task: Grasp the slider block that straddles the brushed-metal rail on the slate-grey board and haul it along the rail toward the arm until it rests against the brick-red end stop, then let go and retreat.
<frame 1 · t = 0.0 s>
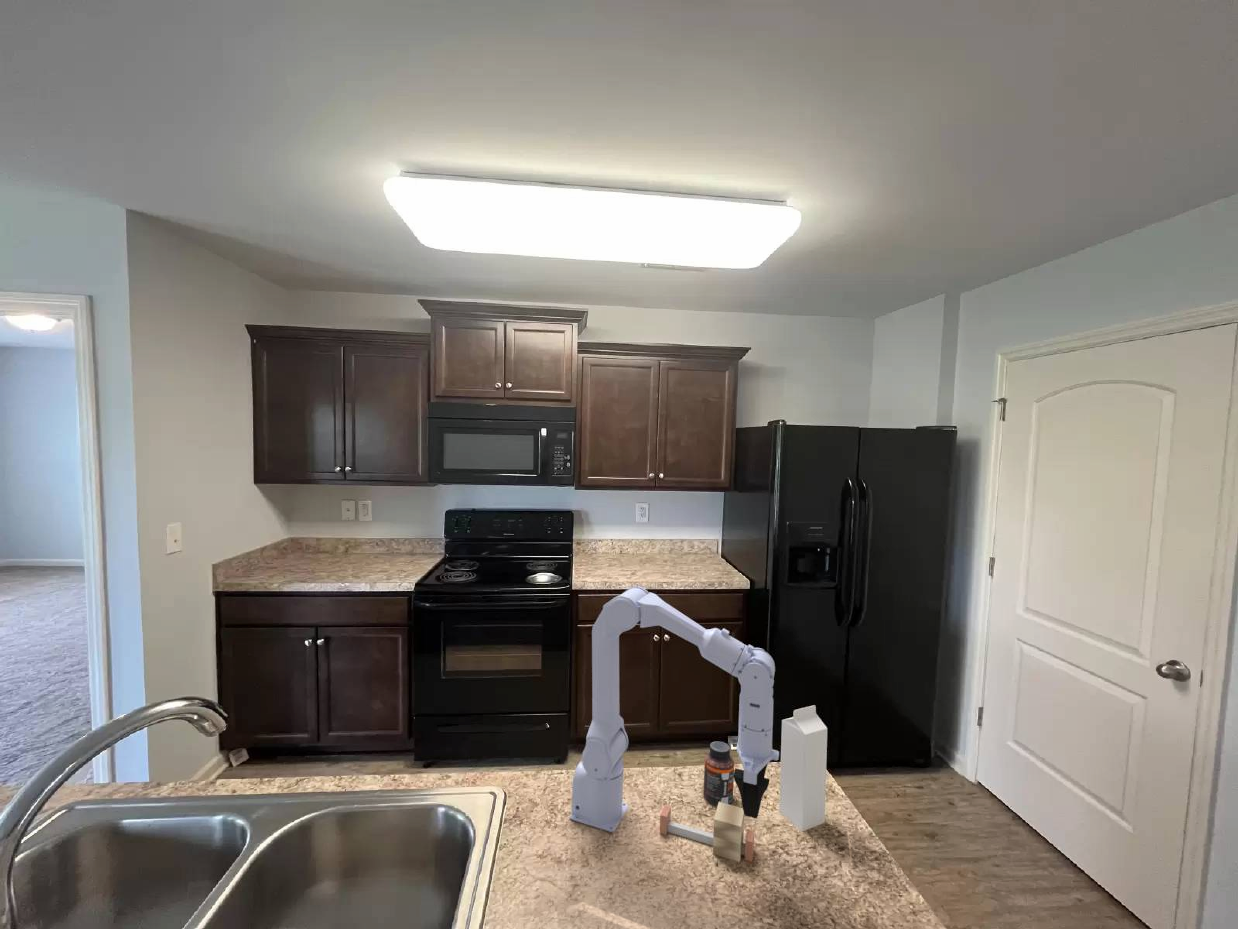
hand: (753, 801, 86), 10 cm above the countertop, fingers open, 7 cm apart
slider block: (728, 831, 87), point 4 cm above the countertop, slide at 0.0 cm
rail board: (705, 846, 88), on the countertop
supplement bottle: (718, 803, 100), on the countertop
milk: (801, 822, 96), on the countertop
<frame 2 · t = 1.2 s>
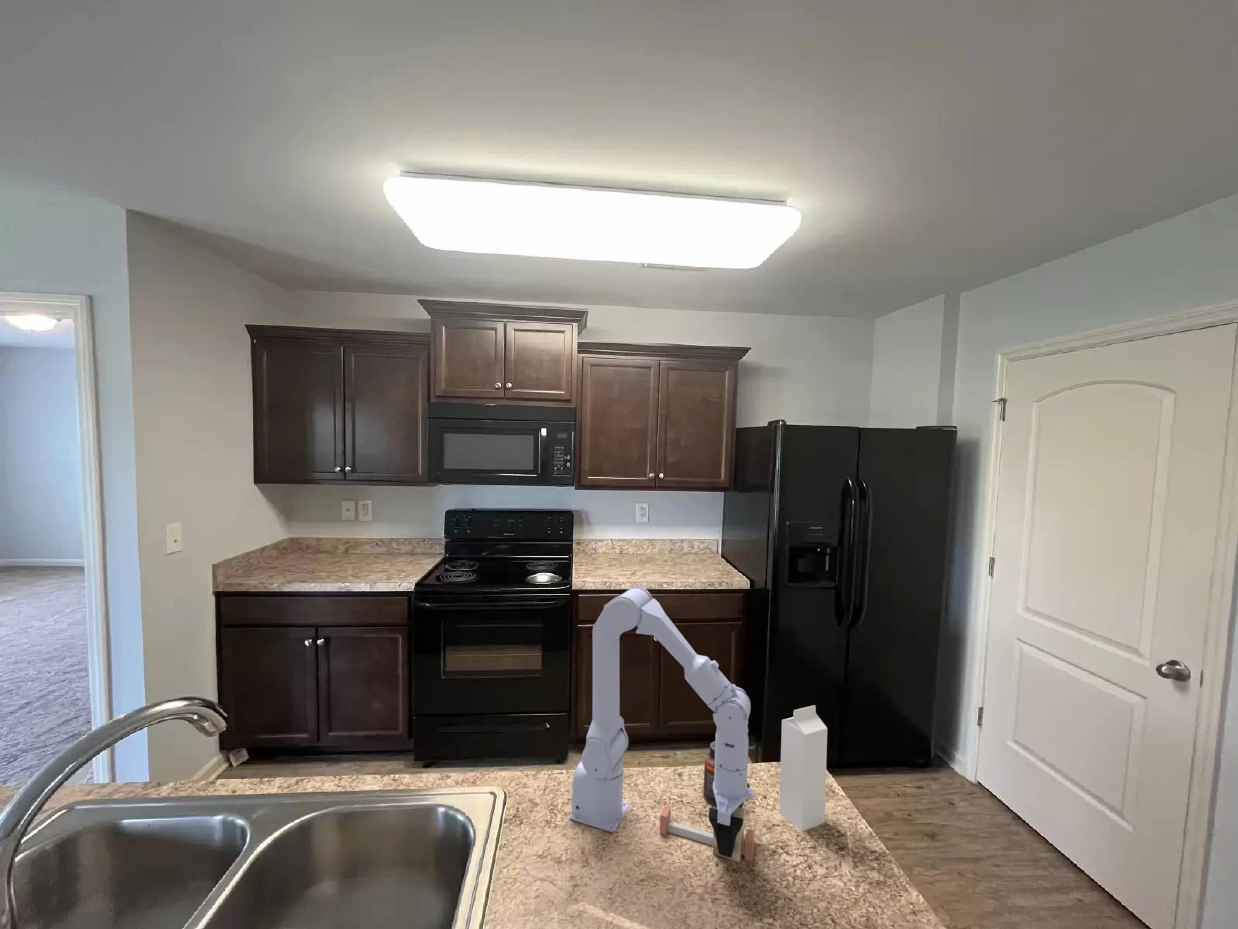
hand: (728, 839, 87), 2 cm above the countertop, fingers open, 7 cm apart
nothing on the countertop moved.
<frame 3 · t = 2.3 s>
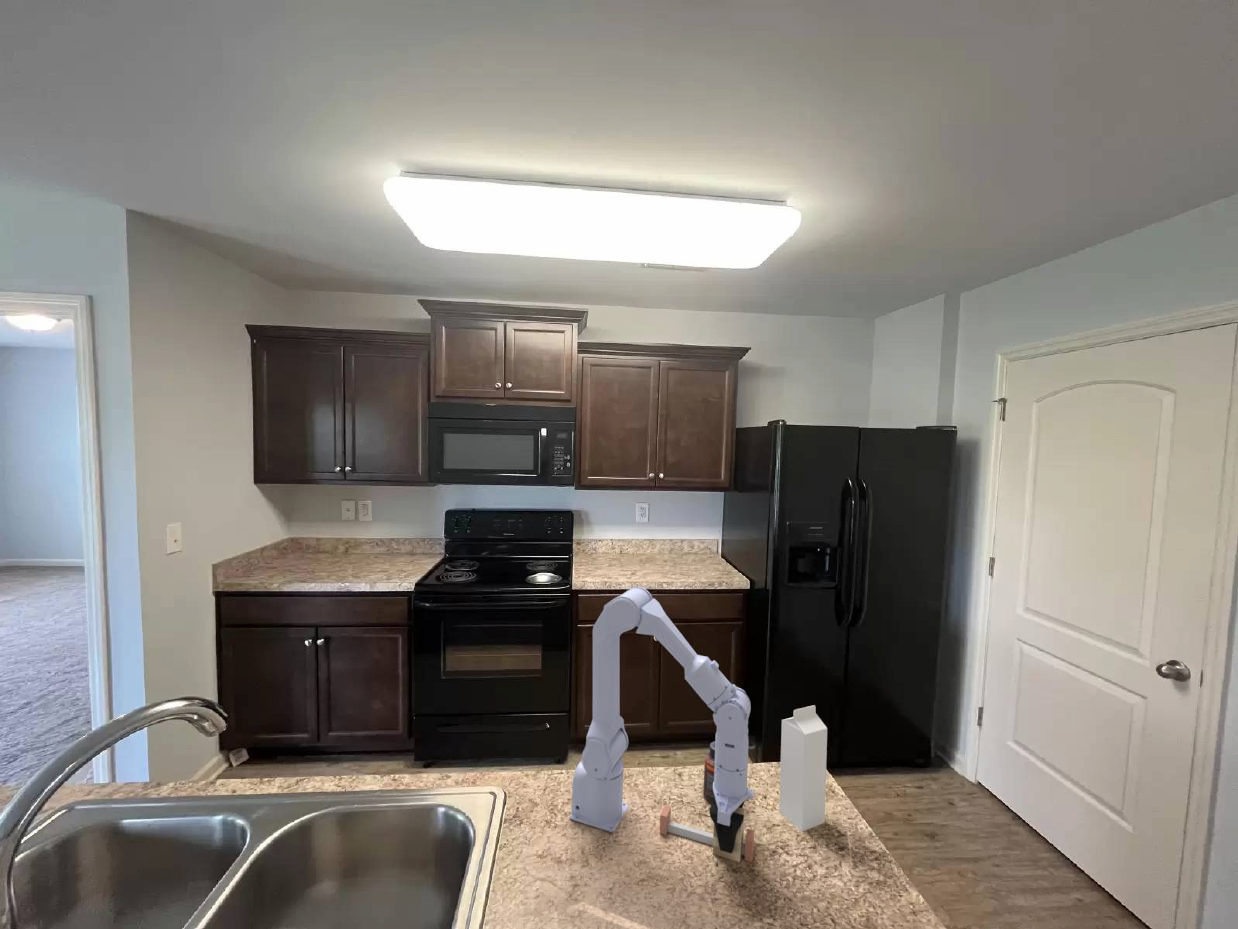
hand: (728, 839, 87), 2 cm above the countertop, fingers closed on slider block, 5 cm apart
slider block: (728, 831, 87), point 4 cm above the countertop, slide at 0.0 cm, touching gripper
everything else where it was.
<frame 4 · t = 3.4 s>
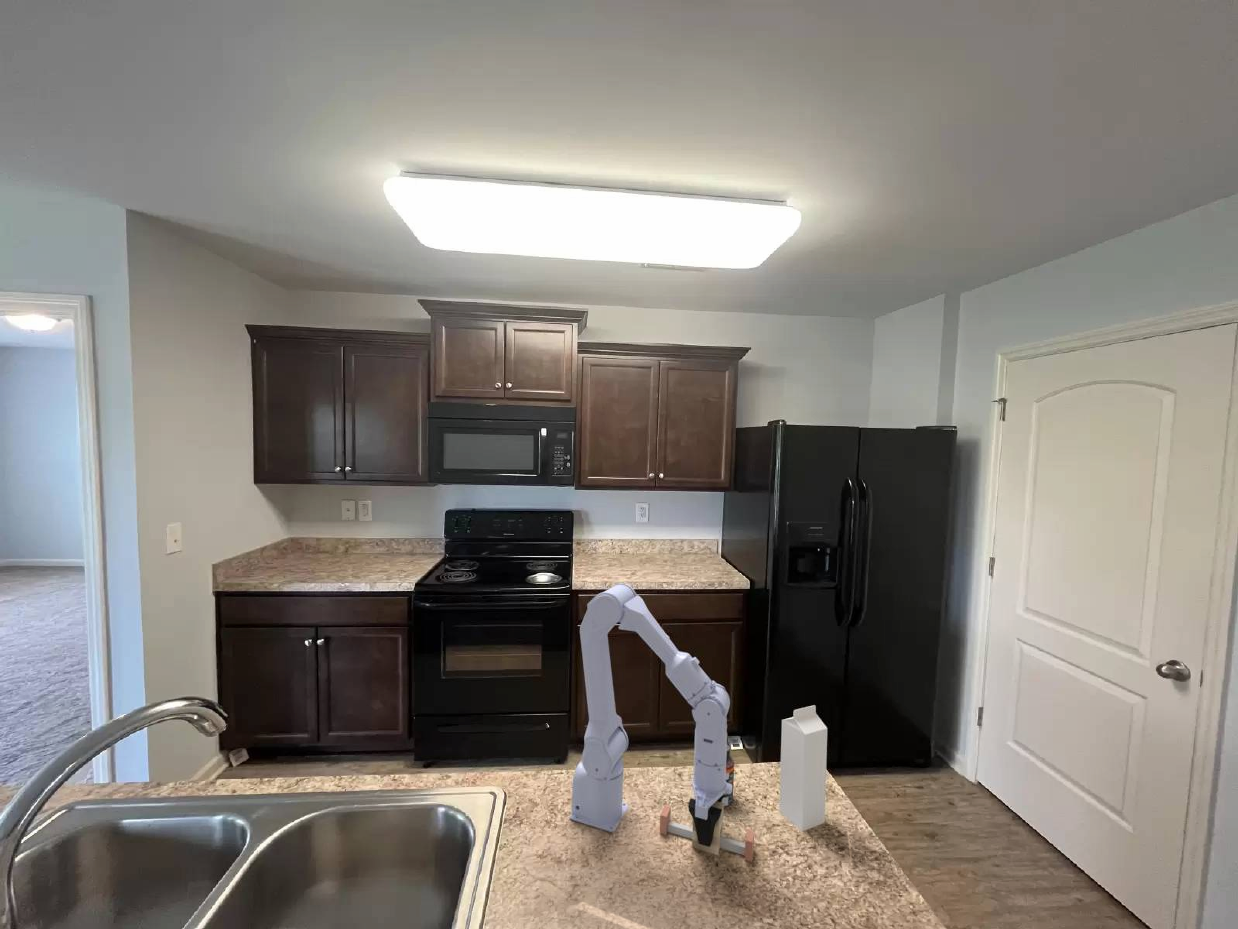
hand: (707, 833, 88), 2 cm above the countertop, fingers closed on slider block, 5 cm apart
slider block: (708, 825, 88), point 4 cm above the countertop, slide at 3.7 cm, touching gripper
everything else where it was.
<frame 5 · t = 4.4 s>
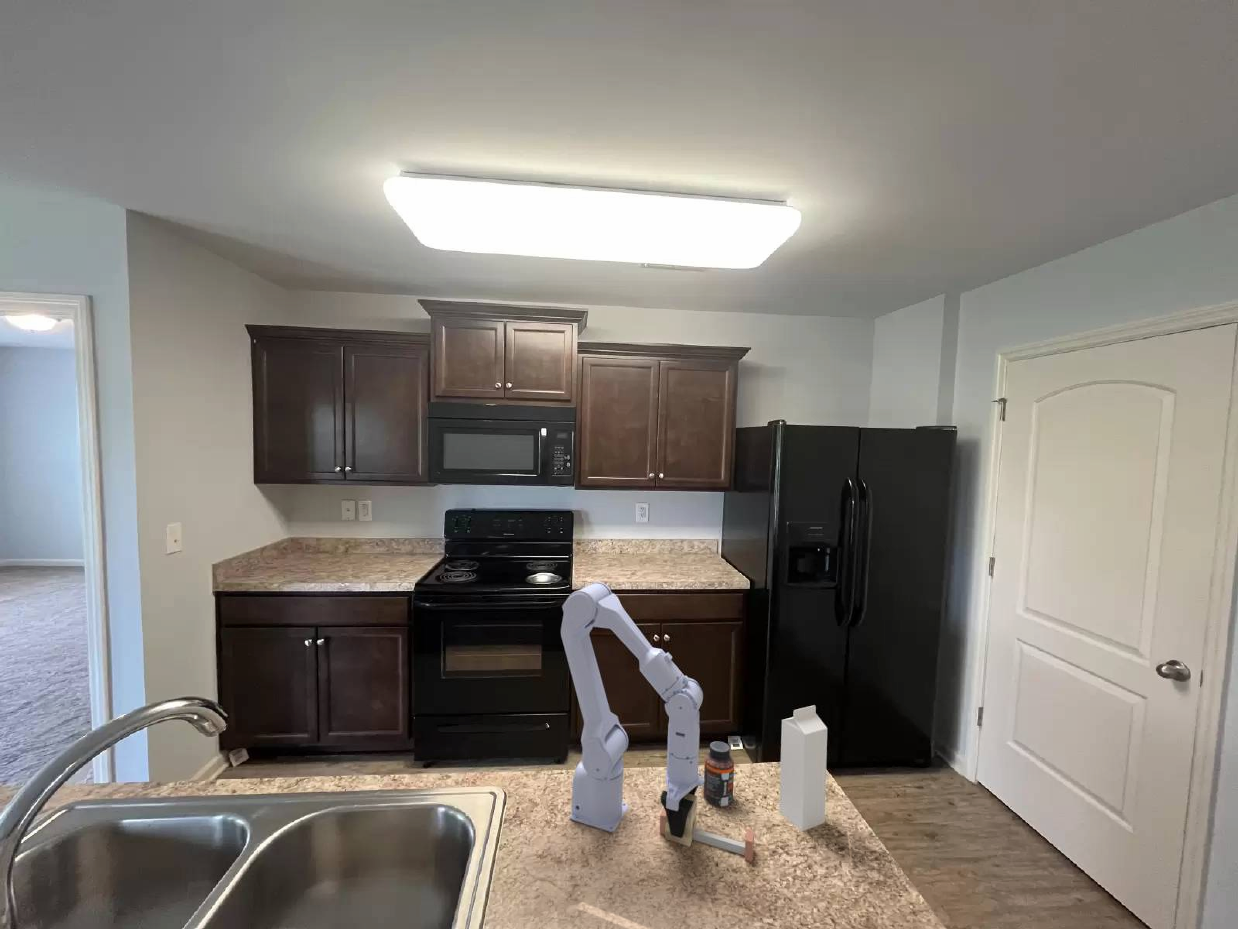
hand: (680, 825, 90), 2 cm above the countertop, fingers closed on slider block, 5 cm apart
slider block: (681, 817, 90), point 4 cm above the countertop, slide at 8.6 cm, touching gripper
everything else where it was.
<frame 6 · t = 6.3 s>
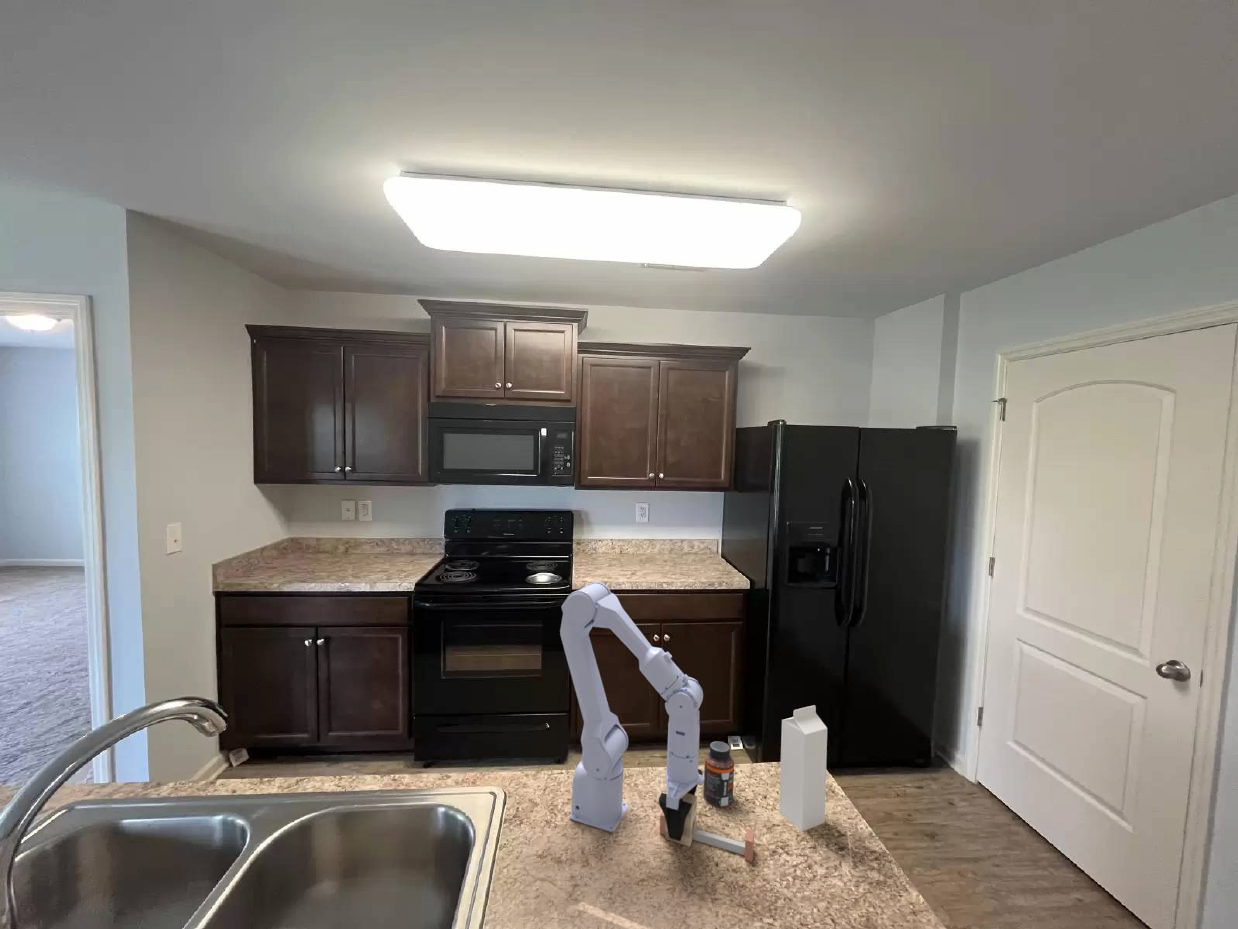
hand: (680, 824, 90), 3 cm above the countertop, fingers open, 7 cm apart
slider block: (681, 817, 90), point 4 cm above the countertop, slide at 8.6 cm
everything else where it was.
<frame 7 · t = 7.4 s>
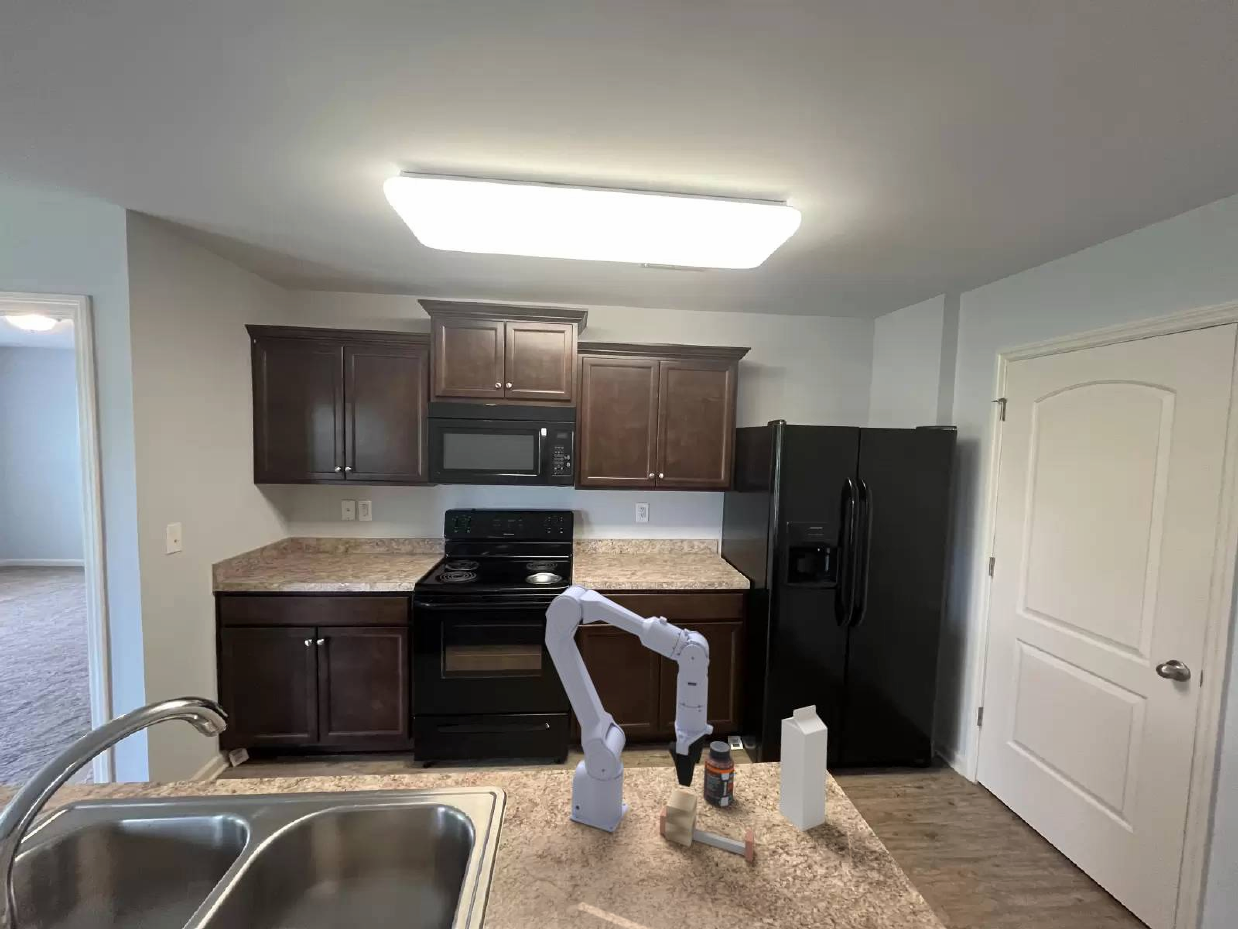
hand: (689, 773, 93), 10 cm above the countertop, fingers open, 7 cm apart
nothing on the countertop moved.
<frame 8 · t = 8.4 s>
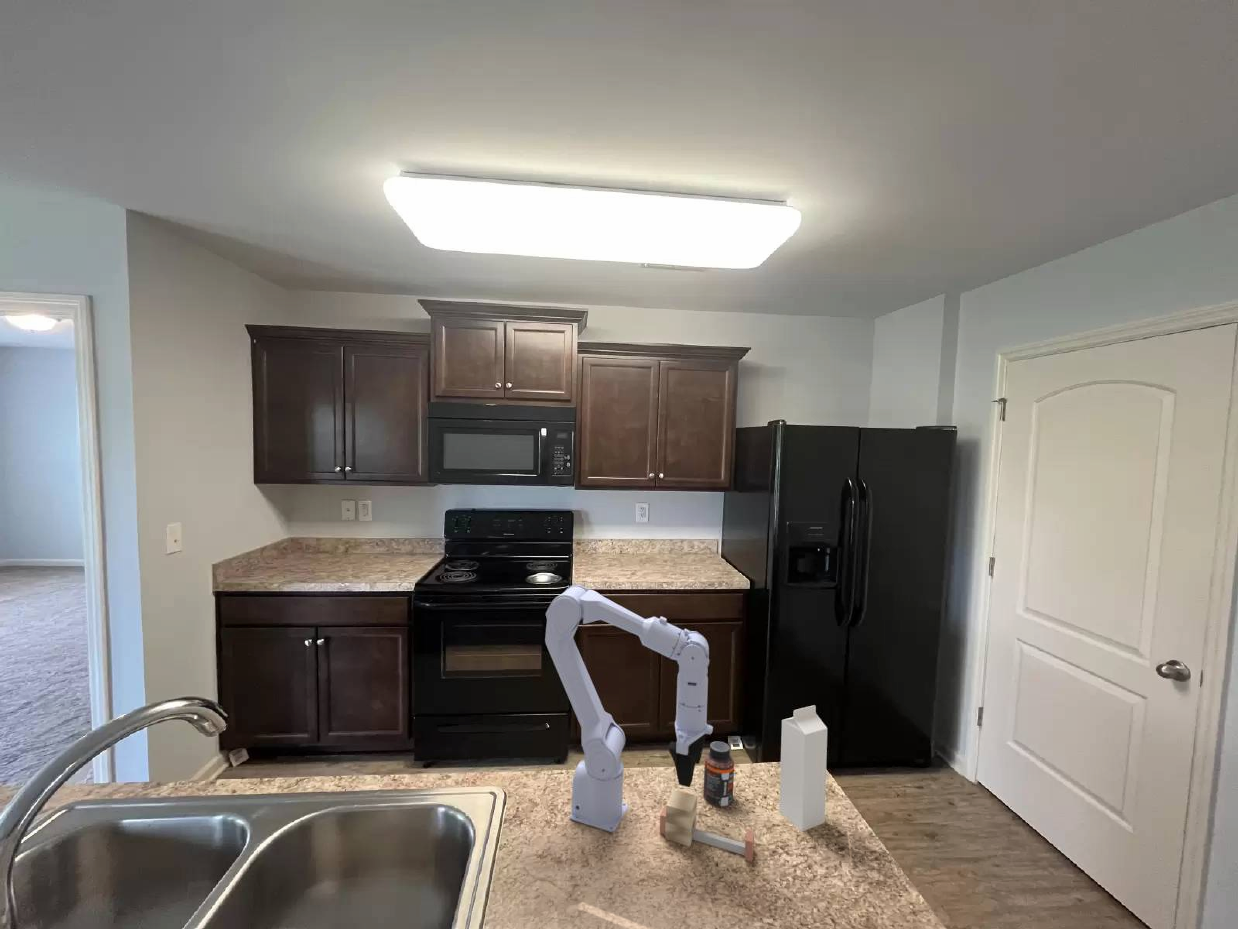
hand: (689, 773, 93), 10 cm above the countertop, fingers open, 7 cm apart
nothing on the countertop moved.
at the end: slider block slide at 8.6 cm; the gripper is holding nothing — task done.
